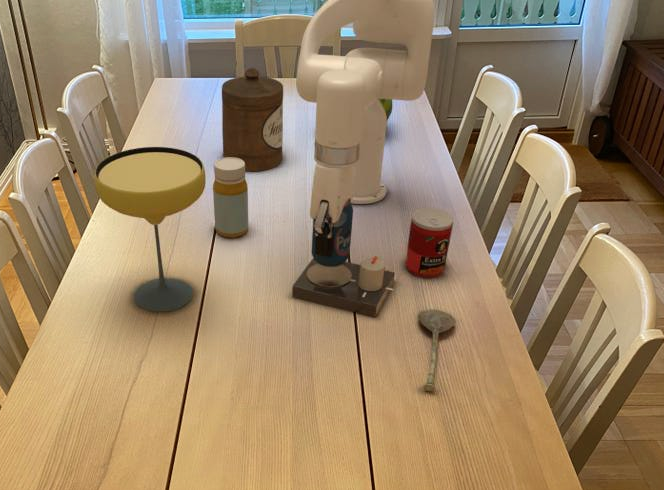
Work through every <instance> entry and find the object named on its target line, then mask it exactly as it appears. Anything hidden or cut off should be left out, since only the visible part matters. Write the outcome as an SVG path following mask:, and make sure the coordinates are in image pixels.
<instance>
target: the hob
mask: <svg viewBox="0 0 664 490" xmlns="http://www.w3.org/2000/svg"><path fill="white" fill-rule="evenodd" d="M315 264H318V263H316V261H315V260H314V258H313V257H312V258H311V260H310V262H309V263H308V264H307V265H306V267H305V268H304V270H303V271H302V272H301V274H300V275H299V277H298V278H297V279H296V280H295V282H294V283H293V285H292V288H291V289H292V290H291V291H292V292H291V293H292V294H291V297H292V298H294V299H298V300H303V301H306V302H311V303H315V304H319V305H323V306H326V307H327V306H328V307H331V308H336V309H338V310H339V309H340V310H344V311H348V312H351V313H356V314H359V315H363V316H368V317H372V318H376V317H377V315H378V313H379V312H380V310H381V308H382V306H383V304H384V302H385V301H386V298H387V296H388V294H389V293H390V291H392V292H393V291H394V288H392V287H393V286H394V283H395V277H396V276H395V275H396V272H395V271H390V270H385V269H384V277H383V286H382V288H381V289H380V290H377V291H366V290H363V289H361V288H360V287H359V285H358V282H359V272H360V263H353V262H349V261H346V262H345V263H344V264H343V266H345V267H347V268H348V269H349V270H350V271H351V273H352V278H351V280H350V282H349V283H348V284H346V285H344V286H341V287H337V288H325V287H320V286H317V285H315V284H313V283H311V282H310V281H309V280H308V278H307V271H308V269H309V268H310V267H312V266H313V265H315Z"/></svg>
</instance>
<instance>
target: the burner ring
mask: <svg viewBox="0 0 664 490" xmlns="http://www.w3.org/2000/svg"><path fill="white" fill-rule="evenodd" d="M307 278H308V280H309V281H310V282H311V283H313V284H315V285H317V286H320V287H325V288H337V287H341V286H344V285H346V284H348V283H349V282H350V280H351V278H352V273H351V271H350V270H349V269H348V268H347V267H345V266H343V265H341V266H339V267H333V268H329V267H324V266H321V265H319V264H315V265H313V266H312V267H310V268H309V269H308V271H307Z"/></svg>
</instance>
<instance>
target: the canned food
mask: <svg viewBox="0 0 664 490" xmlns="http://www.w3.org/2000/svg"><path fill="white" fill-rule="evenodd" d="M409 225H410V226H409V233H408V241H407V249H406V255H405V267H406V269H407V270H408V271H409V272H410V273H411V274H412V275H414V276H418V277H421V278H435V277H438V276H440V275H441V274H442V273H443V272H444V271H445V268H446V265H447V259H448V253H449V247H450V242H451V238H452V237H451V236H452V231H453V225H454V217H453V215H451V213H450V212H448V211H446V210H444V209H441V208H436V207H420V208H418V209H416V210H414V211H413V212H412V215H411V219H410V224H409Z"/></svg>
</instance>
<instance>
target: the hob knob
mask: <svg viewBox="0 0 664 490" xmlns="http://www.w3.org/2000/svg"><path fill="white" fill-rule="evenodd" d="M359 265H360V272H359V282H358V285H359V287H360V288H361V289H363V290H366V291H377V290H380V289H381V288H382V286H383V277H384V270H385V269H386V263H385V262H384V261H383V259H380V258H378V256H376V255H375V256H374V257H373V256H372V257H365V258H363V259H361V260H360V263H359Z"/></svg>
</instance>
